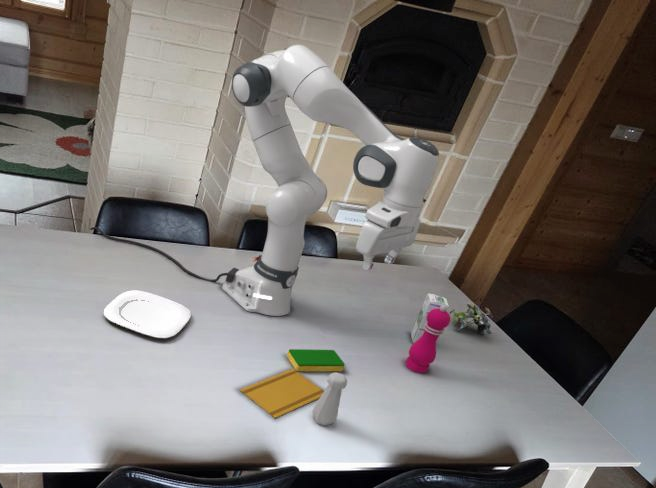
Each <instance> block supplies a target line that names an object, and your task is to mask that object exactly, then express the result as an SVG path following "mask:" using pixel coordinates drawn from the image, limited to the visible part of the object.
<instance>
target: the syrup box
mask: <svg viewBox="0 0 656 488" xmlns="http://www.w3.org/2000/svg"><path fill="white" fill-rule="evenodd" d="M442 305H445V306H446V307H447V310H446V312H448V309H449V306H450V305H449V303H448V299H447V297H445V296H442V295H439V294H434V293H429V292H428V293H427V294H426V296H425V300H424V301H423V303H422V306H421V307H420V310H419V313H418V316H417V318H416V320H415V322H414V324H413V326H412V329H411V332H410V337H411V338H410V339H411V342H412V344H414V343H415V342H416V341H417V340H418V339H419V338H420V337H421V336H422V335H423V333H424V331H425V329H424V326H425V324H426V323H427V315H428V313H429V312H430V311H431V310H433V309H440V306H442Z"/></svg>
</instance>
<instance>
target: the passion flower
mask: <svg viewBox="0 0 656 488" xmlns="http://www.w3.org/2000/svg"><path fill="white" fill-rule="evenodd" d="M466 306H467V307H468V309H467V310H466V311H465V312H462V311H461V312H458V313H457V312H455V311H456V310H455V309H451V310H450V311H449V315H450V314H452V313H454V314H453V315H452V319H456V320H455V321H454V322H453V326H455V325H456V324H457V323H459V322H461V324H460V327H459V328H458V329H456V332H458V331H461V329H465V328H467V327H469V326H470V325H476V326H477V327H476V331H477V334H481V336H484V332H486V333H487V334H488V335H491V334H492V331H491V323H490V322H489V321H490V319H493V315H492V311H490V309H489V307H487V306H485V307H484V310H485V312H486V313H483V311H482V309H481V307H479V305H477V304H474V305H473V306H472V305H471V304H470V302H469V301H468V302H467V305H466ZM486 316H488V317H486ZM470 318H471V319H472V320H470V321H468V319H470ZM489 318H490V319H489Z"/></svg>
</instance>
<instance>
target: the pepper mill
mask: <svg viewBox="0 0 656 488" xmlns="http://www.w3.org/2000/svg"><path fill="white" fill-rule="evenodd" d="M446 310H447V311H446ZM450 323H451V315H450V312H448V309H447V307H446V306H445V305H442V306H440V309H433V310H431V311H430V312H429V313H428V315H427V323H426V324H425V326H424V329H425V331H424V333H423V335H422V336H421V337H420V338H419V339H418V340H417V341H416V342H415V343H412V344H411V346H410V347H409V349H408V355H409V356H407V358H406V360H405V366H406V367H407V368H408V369H409V370H410V371H412V372H415V373H418V374H425V373H427V372H428V370H429V368H430V364H432V363H433V362H435V360H436V357H437V342H438V339H439V337H440V336H441V335H443V334H444V333H443V332H444V331H445V328H447V327H449V325H450Z"/></svg>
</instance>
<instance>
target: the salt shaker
mask: <svg viewBox="0 0 656 488" xmlns="http://www.w3.org/2000/svg"><path fill="white" fill-rule="evenodd" d="M327 384H328V385H327V387H326V388H325V390H323V391H324V393H323V394H322V396H321V397H320V398H319V399H317V402H316V403H315V405H314V406H313V408H312V418H313V420H314V421H315V422H316V424H317V425H321V426H324V427H327V426H329V425H332V424H333V423H334V422H335V421H337V419H338V414H339V407H340V402H341V397H342V392H343V390H344V389H346V387H347V384H348V378H347V376H346V375H345V374H342V373H341V372H331V373H330V374H329V376H328V378H327Z"/></svg>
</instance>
